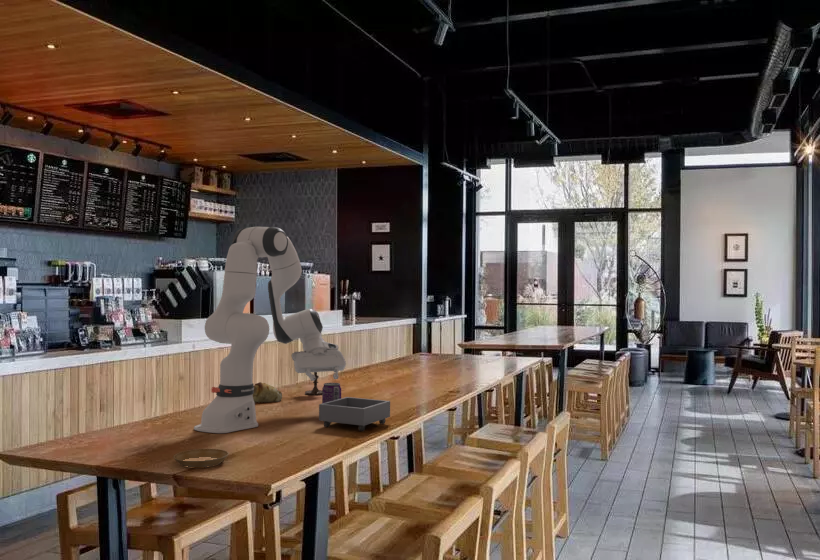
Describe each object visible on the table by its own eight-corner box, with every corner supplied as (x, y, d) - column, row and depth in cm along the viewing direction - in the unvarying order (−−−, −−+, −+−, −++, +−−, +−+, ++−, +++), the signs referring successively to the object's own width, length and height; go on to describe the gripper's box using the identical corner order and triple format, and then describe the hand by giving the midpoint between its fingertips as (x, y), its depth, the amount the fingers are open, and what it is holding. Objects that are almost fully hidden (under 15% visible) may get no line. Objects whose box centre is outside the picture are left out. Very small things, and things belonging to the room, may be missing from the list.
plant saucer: (163, 469, 201) (163, 459, 201) (188, 456, 215) (188, 447, 215) (215, 472, 199) (215, 462, 199) (236, 458, 213) (236, 449, 213)
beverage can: (342, 414, 281) (343, 382, 281) (339, 417, 274) (339, 385, 274) (324, 413, 282) (324, 382, 282) (320, 417, 275) (320, 384, 274)
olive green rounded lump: (241, 401, 308) (241, 382, 308) (260, 397, 319) (260, 378, 319) (269, 404, 302) (269, 384, 302) (287, 400, 313) (287, 381, 313)
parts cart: (363, 432, 248) (364, 408, 248) (318, 427, 256) (319, 404, 256) (390, 423, 264) (390, 401, 264) (346, 418, 272) (347, 396, 272)
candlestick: (330, 394, 326) (331, 315, 326) (306, 396, 322) (306, 315, 322) (324, 391, 336) (324, 313, 336) (300, 392, 332) (301, 314, 332)
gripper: (292, 346, 285) (301, 375, 277) (341, 344, 295) (351, 372, 287) (288, 357, 289) (297, 385, 281) (337, 354, 299) (346, 382, 291)
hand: (325, 379), depth 284 cm, fingers open, 8 cm apart
